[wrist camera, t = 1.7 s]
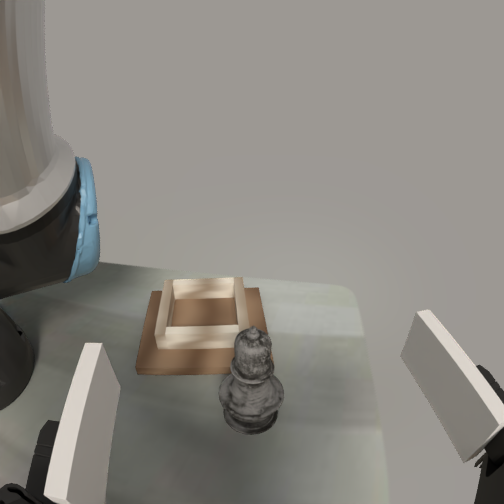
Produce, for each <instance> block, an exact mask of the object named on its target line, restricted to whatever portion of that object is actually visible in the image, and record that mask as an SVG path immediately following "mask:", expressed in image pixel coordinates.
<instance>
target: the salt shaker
mask: <svg viewBox="0 0 504 504" xmlns="http://www.w3.org/2000/svg"><path fill="white" fill-rule="evenodd" d="M271 345H272V343H271V339H270V337H269V336H268V335H267V334H266V333H265V332H264V331H262V330H260V329H257V328H256V327H255V326H251V327H250V328H248V329H245V330H243V331H241V332H240V333H239V334H238V335H237V336H236V338H235V342H234V353H235V357H234V358H233V359H232V361H231V364H230V369H231V372H232V374H230V375H228V376H227V377H226V378H225V379H224V380H223V382H222V384H221V385H220V389H219V399H220V402H221V404H222V406H223V407H224V417H225V420H226V422H227V423H228V425H229V426H230V427H231V428H233V429H234V430H236V431H237V432H240V433H243V434H251V435H252V434H259V433H262V432H264V431H266V430H268V429H269V428H271V427H272V425H273V424H274V423H275V421H276V419H277V414H278V408H279V407H280V406H281V404H282V401H283V399H284V390H283V387H282V384H281V383H280V381H279V380H278V379H277V378H276V377H275V376H274V375H272V374H273V372H274V364H273V361H272V360H271V358H270V357H271Z"/></svg>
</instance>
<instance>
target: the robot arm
mask: <svg viewBox="0 0 504 504" xmlns="http://www.w3.org/2000/svg"><path fill="white" fill-rule="evenodd" d="M44 13H45V0H0V299H3V298H6V297H10V296H13V295H17V294H20V293H24V292H27V291H31V290H35V289H38V288H42V287H46V286H49V285H53V284H57V283H61V282H63V283H67V282H70V281H71V280H72V279H74V278H77V277H80V276H83V275H86V274H88V273H90V272H92V271H93V270H94V269H95V268H96V266H97V265H98V262H99V257H100V235H99V224H98V219H97V201H96V192H95V184H94V177H93V172H92V167H91V164H90V162H89V160H88V159H86V158H79V157H75V156H74V153H73V150H72V148H71V146H70V145H69V144H68V142H67V141H66V140H64V139H63V138H61V137H60V136H57V135H55V134H53V127H52V121H51V114H50V105H49V97H48V87H47V75H46V61H45V36H44V35H45V33H44ZM401 358H402V360H403V361H404V363H405V364H406V366H407V367H408V369H409V371H410V372H411V374H412V375H413V377H414V379H415V380H416V382H417V383H418V385H419V387H420V388H421V390H422V392H423V393H424V395H425V397H426V398H427V400H428V402H429V403H430V405H431V407H432V408H433V410H434V412H435V413H436V415H437V417H438V418H439V420H440V422H441V424H442V425H443V427H444V429H445V431H446V432H447V434H448V436H449V438H450V440H451V441H452V443H453V445H454V446H455V449H456V450H457V452H458V454H459V456H460V458H461V459H462V461H463V463H465V462H467V461H469V460H470V459H472V458H474V457H475V456H477V455H478V454H479V453H480V452H481V451H482V450H483V449H485V450H486V453H485V454H484V455H483V456H482V457H481V458H480V459H479V460H478V461H477V462H476V463H475V466H474V467H477V466H478V465H479V464H480V463H481V462H482V461H483V462H482V464H481V465H480V467H479V468H481V474H480V479H479V484H478V489H477V494H476V498H475V502H474V504H504V391H503V390H502V389H501V388H500V386H499V384H498V383H497V382H495V379H494V378H493V376H492V375H491V374H490V372H489V371H488V370H486V369H485V368H483V367H482V366H481V365H478V366H475V365H474V363H473V362H472V361H471V360H470V358H469V357H468V356H467V355H466V353H465V352H464V351H463V350H462V348H461V347H460V346H459V345H458V343H457V342H456V341H455V340H454V338H453V337H452V336H451V335H450V333H449V332H448V331H447V330H446V329H445V327H444V326H443V325H442V324H441V323H440V321H439V320H438V319H437V318H436V317H435V316H434V314H433V313H432V312H431V311H430V310H424V311H419V312H416V314H415V317H414V320H413V323H412V326H411V329H410V332H409V334H408V337H407V340H406V343H405V346H404V348H403V350H402V353H401ZM33 365H34V353H33V349H32V347H31V345H30V343H29V341H28V339H27V337H26V335H25V333H24V332H23V330H22V329H21V328H20V327H19V326H18V325H17V324H16V323H15V322H14V321H13V320H12V319H11V318H10V317H9V316H8V315H7V314H6V313H5V312H4V311H3V310H2V309H1V308H0V410H1V409H3V408H5V407H6V406H8V405H9V404H10V403H11V402H13V401H14V400H15V399H16V398H17V397H18V396H19V394H20V393H21V392H22V391H23V389H24V388H25V386H26V384H27V383H28V381H29V379H30V376H31V374H32V370H33ZM120 389H121V387H120V385H119V382H118V380H117V378H116V375H115V373H114V371H113V368H112V366H111V364H110V361H109V359H108V356H107V354H106V351H105V349H104V346H103V343H85V345H84V348H83V351H82V353H81V356H80V359H79V362H78V365H77V368H76V371H75V374H74V377H73V380H72V383H71V386H70V390H69V393H68V396H67V399H66V403H65V406H64V410H63V413H62V417H61V420H60V422H59V421H51V420H48V421H47V422H46V424H45V425H44V426H43V428H42V429H41V430H40V433H39V437H38V440H37V445H36V448H35V451H34V453H35V455H33V459H32V463H31V467H30V471H29V476H28V480H27V485H26V489H24V488H23V487H21V486H20V485H18V484H13V483H10V484H6V485H4V486H3V487H2V488H1V489H0V504H105V496H106V486H107V476H108V468H109V459H110V452H111V444H112V437H113V431H114V424H115V418H116V412H117V406H118V400H119V395H120Z"/></svg>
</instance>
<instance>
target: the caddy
mask: <svg viewBox="0 0 504 504" xmlns="http://www.w3.org/2000/svg"><path fill="white" fill-rule="evenodd" d="M251 326H255V327H256V328H257V329H260V330H262V331H264V332H265V333H266V334H267V335H268V332H267V327H266V322H265V317H264V312H263V308H262V303H261V298H260V293H259V288H244V284H243V277H236V278H210V279H179V280H165V282H164V287H163V291H152V293H151V297H150V301H149V305H148V310H147V314H146V319H145V323H144V328H143V332H142V337H141V342H140V346H139V351H138V356H137V361H136V367H135V368H136V371H137V374H145V375H202V374H230V373H232V372H231V369H230V364H231V361H232V359H233V358H234V357H235V353H234V342H235V338H236V336H237V335H238V334H239V333H240V332H241V331H243V330H245V329H248V328H250V327H251ZM270 358H271V360H272V361H273V357H272V352H271V357H270ZM273 364H274V362H273Z"/></svg>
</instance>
